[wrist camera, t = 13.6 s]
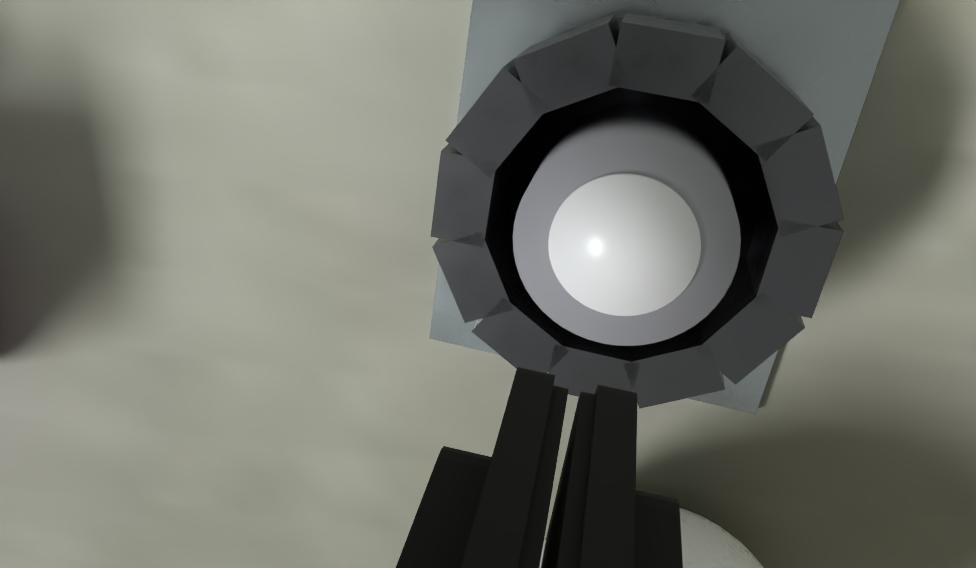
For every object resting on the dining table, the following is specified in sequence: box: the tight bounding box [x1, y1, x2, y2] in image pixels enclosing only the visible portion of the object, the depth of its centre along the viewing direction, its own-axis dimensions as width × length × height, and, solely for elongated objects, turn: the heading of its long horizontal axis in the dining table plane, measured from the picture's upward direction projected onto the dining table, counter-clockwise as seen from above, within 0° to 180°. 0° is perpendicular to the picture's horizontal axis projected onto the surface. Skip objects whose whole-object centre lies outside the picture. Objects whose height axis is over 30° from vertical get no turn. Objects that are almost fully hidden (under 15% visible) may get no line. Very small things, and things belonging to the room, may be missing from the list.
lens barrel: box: [430, 0, 900, 414], centre depth 24 cm, size 14×12×4 cm
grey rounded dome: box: [513, 105, 741, 346], centre depth 23 cm, size 6×6×4 cm
